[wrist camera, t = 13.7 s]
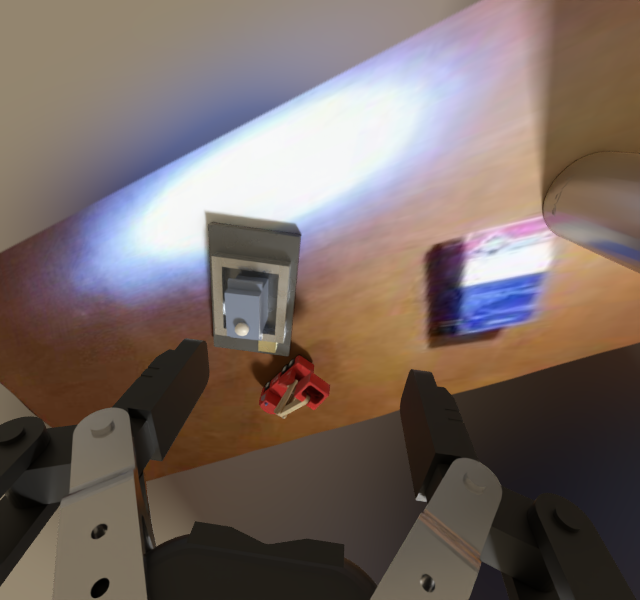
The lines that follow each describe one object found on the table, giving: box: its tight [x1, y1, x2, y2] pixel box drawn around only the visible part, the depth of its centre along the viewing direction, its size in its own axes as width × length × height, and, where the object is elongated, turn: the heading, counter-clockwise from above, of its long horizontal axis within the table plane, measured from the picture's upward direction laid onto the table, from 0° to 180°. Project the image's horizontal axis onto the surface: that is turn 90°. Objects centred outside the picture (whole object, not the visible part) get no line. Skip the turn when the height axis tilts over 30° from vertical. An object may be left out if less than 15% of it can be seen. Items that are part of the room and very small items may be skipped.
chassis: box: [208, 222, 301, 356], centre depth 41 cm, size 11×18×3 cm, turn 173°
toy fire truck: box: [259, 355, 330, 418], centre depth 44 cm, size 3×14×10 cm, turn 139°
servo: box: [225, 275, 268, 341], centre depth 39 cm, size 4×8×6 cm, turn 175°
